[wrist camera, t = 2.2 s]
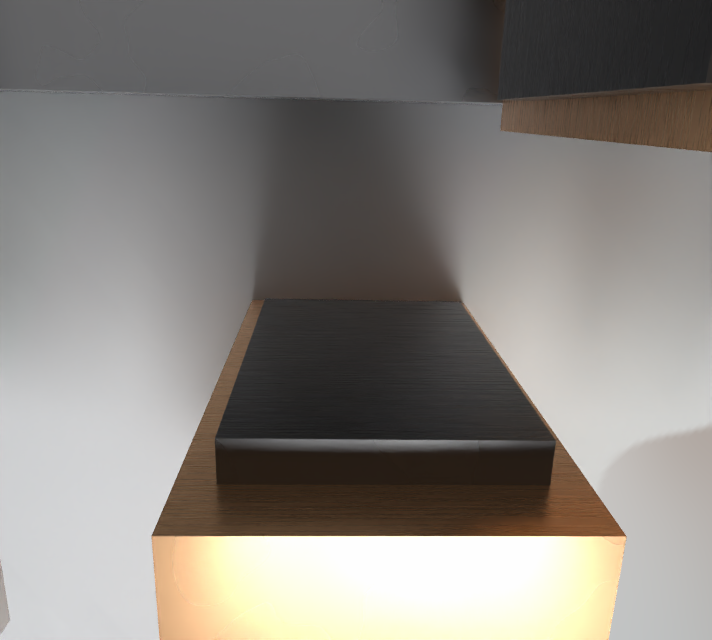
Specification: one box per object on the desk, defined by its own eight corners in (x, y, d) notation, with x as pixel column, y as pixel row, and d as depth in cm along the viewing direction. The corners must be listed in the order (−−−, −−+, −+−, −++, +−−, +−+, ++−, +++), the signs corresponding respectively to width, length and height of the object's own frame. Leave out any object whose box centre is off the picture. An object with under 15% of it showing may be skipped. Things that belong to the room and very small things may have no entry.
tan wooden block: (448, 487, 17) (568, 866, 8) (256, 486, 17) (177, 873, 8) (465, 278, 15) (635, 487, 7) (251, 275, 15) (147, 484, 7)
